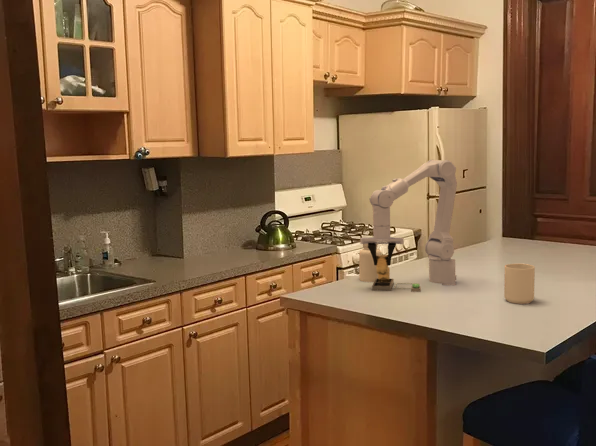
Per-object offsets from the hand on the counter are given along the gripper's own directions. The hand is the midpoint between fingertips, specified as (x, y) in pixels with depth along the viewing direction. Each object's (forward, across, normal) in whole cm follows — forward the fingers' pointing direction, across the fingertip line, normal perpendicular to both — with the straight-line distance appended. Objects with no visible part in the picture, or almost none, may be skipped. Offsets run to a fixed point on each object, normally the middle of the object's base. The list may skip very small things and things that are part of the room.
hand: (382, 264), depth 218 cm
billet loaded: (+8, 0, +6) cm, 10 cm away
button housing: (+9, +11, -2) cm, 15 cm away
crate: (+9, 0, +3) cm, 10 cm away
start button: (+10, +11, -2) cm, 15 cm away
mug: (+9, +44, -7) cm, 46 cm away
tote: (+9, +8, +4) cm, 13 cm away
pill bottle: (+10, -6, +14) cm, 18 cm away
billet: (+3, 0, 0) cm, 3 cm away
